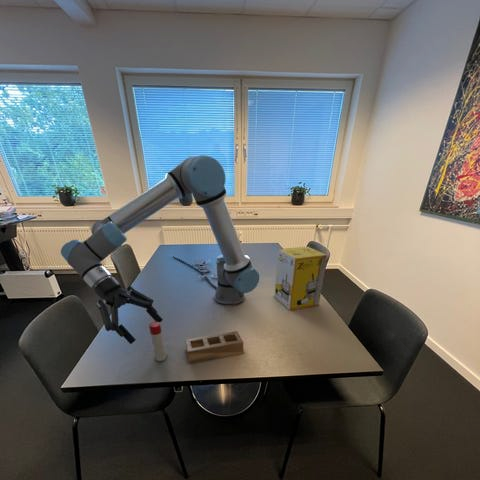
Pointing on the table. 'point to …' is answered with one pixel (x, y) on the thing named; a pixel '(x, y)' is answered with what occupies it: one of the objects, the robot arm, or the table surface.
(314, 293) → the packaging box
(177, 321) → the table surface
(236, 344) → the pen holder
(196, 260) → the drone parts
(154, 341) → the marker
